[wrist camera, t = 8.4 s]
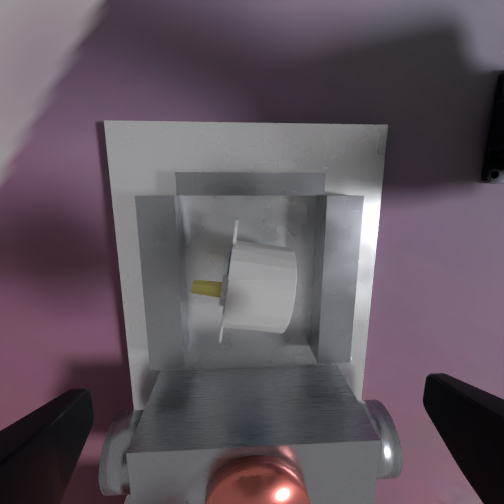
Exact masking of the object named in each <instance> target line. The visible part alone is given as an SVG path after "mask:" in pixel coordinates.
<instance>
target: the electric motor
mask: <svg viewBox="0 0 504 504" xmlns="http://www.w3.org/2000/svg"><path fill="white" fill-rule="evenodd" d="M238 221H239V218H236V221H235V229H234V237H233V242H232V248H231V249H232V251H230V257H229V264H228V271H227V275H223V279H222V282H217V281H205V280H193V283H192V287H191V293H194V294H200V295H206V296H213V297H219V298H220V300H219V305H220V306H223V313H222V314H223V317H222V322H221V328H220V335H219V343H221V341H222V334H223V328H224V327H225V328H234V329H244V330H253V331H263V332H272V333H281V334H282V333H283V332H285V330H286V328H287V326H288V325H289V322H290V319H291V316H292V312H293V307H294V301H295V295H296V283H297V266H296V257H295V253H294V251H293V250H292V248H287V247H280V246H273V245H266V244H259V243H252V242H245V241H238V240H236V238H237V229H238Z"/></svg>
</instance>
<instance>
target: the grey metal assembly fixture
mask: <svg viewBox="0 0 504 504" xmlns="http://www.w3.org/2000/svg"><path fill="white" fill-rule="evenodd" d="M104 128H105V137H106V147H107V156H108V166H109V175H110V185H111V195H112V204H113V214H114V223H115V233H116V242H117V252H118V261H119V271H120V281H121V290H122V300H123V309H124V319H125V328H126V338H127V348H128V357H129V367H130V376H131V386H132V395H133V405H134V410H126V411H120V412H118V413H117V414H116V416H115V417H114V418H113V420H112V422H111V424H110V426H109V429H108V431H107V434H106V437H105V440H104V444H103V448H102V452H101V457H100V464H99V487H100V491H101V493H102V495H104V496H112V495H129V494H131V500H132V504H373V503H374V494H375V486H376V480H379V479H395V478H398V477H399V475H400V473H401V470H402V452H401V446H400V441H399V437H398V434H397V431H396V428H395V425H394V423H393V420H392V418H391V416H390V414H389V412H388V411H387V409H386V408H385V407H384V405H383V404H382V403H381V402H379V401H378V400H361V397H362V387H363V376H364V366H365V356H366V346H367V336H368V325H369V315H370V305H371V295H372V285H373V274H374V264H375V254H376V244H377V234H378V223H379V213H380V203H381V193H382V183H383V172H384V162H385V152H386V142H387V132H388V125H372V124H306V123H241V122H175V121H110V120H104ZM236 218H239V221H238V229H237V238H236V240H238V241H245V242H252V243H259V244H266V245H273V246H280V247H287V248H292V250H293V251H294V253H295V257H296V266H297V283H296V295H295V301H294V307H293V312H292V316H291V319H290V322H289V325H288V326H287V328H286V330H285V332H283V333H282V334H281V333H272V332H263V331H253V330H244V329H234V328H225V327H224V328H223V334H222V341H221V343H219V335H220V328H221V322H222V317H223V314H222V313H223V306H220V305H219V300H220V298H219V297H213V296H206V295H200V294H194V293H191V287H192V283H193V280H205V281H217V282H222V279H223V275H227V271H228V264H229V257H230V251H232V249H231V248H232V242H233V237H234V229H235V221H236Z"/></svg>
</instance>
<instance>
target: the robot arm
mask: <svg viewBox="0 0 504 504" xmlns="http://www.w3.org/2000/svg"><path fill="white" fill-rule="evenodd" d="M492 172H493V176H492V177H491V173H492ZM482 180H483V181H484V182H485V183H504V71H503V72H502V73H501V74H500V75H499V78H498V83H497V88H496V94H495V100H494V106H493V112H492V118H491V123H490V129H489V135H488V141H487V147H486V153H485V159H484V164H483V170H482ZM423 404H424V407H425V410H426V412H427V413H428V415H429V417H430V418H431V420H432V422H433V424H434V425H435V427H436V429H437V430H438V432H439V434H440V436H441V437H442V439H443V441H444V443H445V444H446V446H447V448H448V449H449V451H450V453H451V455H452V456H453V458H454V460H455V461H456V463H457V465H458V466H459V468H460V470H461V471H462V473H463V474H464V476H465V477H466V479H467V480H468V482H469V483H470V485H471V486H472V488H473V489H474V490H475V492H476V493H477V495H478V496H479V498H480V499H481V501H482V502H483V503H484V504H504V399H501V398H499V397H497V396H495V395H492V394H490V393H488V392H485V391H483V390H481V389H479V388H476V387H474V386H472V385H470V384H467V383H465V382H463V381H460V380H458V379H456V378H454V377H451V376H449V375H447V374H443V373H436V374H429V375H428V376H427V377H426V382H425V389H424V395H423ZM93 419H94V414H93V407H92V400H91V393H90V391H89V389H87V388H78V389H70V390H68V391H67V392H65V393H63V394H62V395H60V396H58V397H57V398H55V399H53V400H52V401H50V402H48V403H47V404H45V405H43V406H42V407H40V408H38V409H37V410H35V411H33V412H31V413H30V414H28V415H26V416H25V417H23V418H21V419H20V420H18V421H16V422H15V423H13V424H11V425H10V426H8V427H6V428H5V429H3V430H1V431H0V504H60V502H61V500H62V498H63V496H64V493H65V491H66V489H67V486H68V484H69V482H70V479H71V477H72V474H73V472H74V469H75V467H76V464H77V462H78V459H79V457H80V455H81V452H82V450H83V447H84V445H85V442H86V440H87V437H88V435H89V432H90V430H91V427H92V424H93Z"/></svg>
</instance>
